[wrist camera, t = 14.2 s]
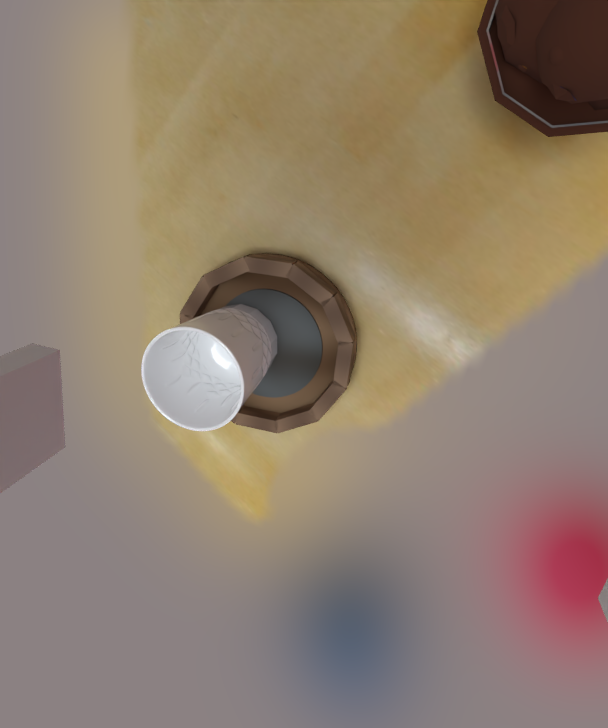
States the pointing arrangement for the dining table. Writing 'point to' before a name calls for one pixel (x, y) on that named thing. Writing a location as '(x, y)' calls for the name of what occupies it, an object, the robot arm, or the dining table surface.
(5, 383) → the robot arm
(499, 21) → the ice cream bowl
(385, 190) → the dining table surface
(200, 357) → the white cup
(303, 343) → the tray
